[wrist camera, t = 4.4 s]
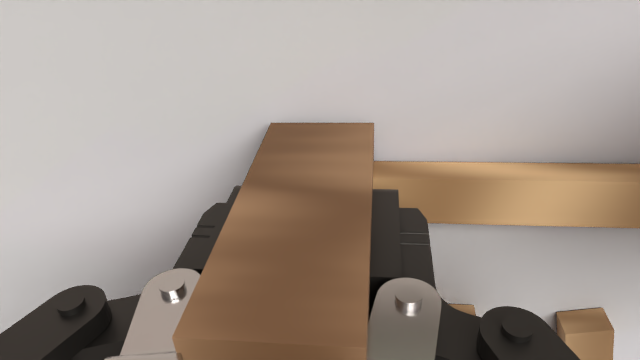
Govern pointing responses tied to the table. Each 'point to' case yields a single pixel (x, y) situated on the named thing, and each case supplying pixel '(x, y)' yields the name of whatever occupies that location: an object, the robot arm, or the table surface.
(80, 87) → the table surface
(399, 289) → the robot arm
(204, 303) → the wooden mallet
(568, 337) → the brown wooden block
